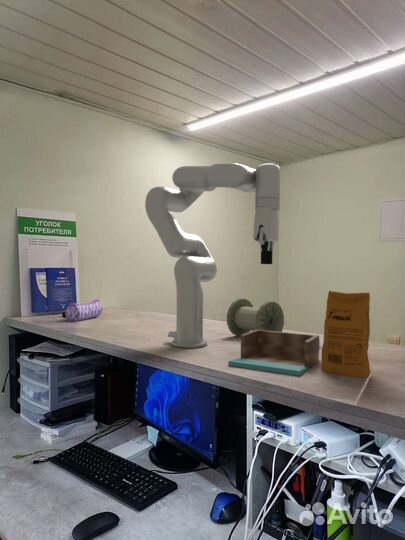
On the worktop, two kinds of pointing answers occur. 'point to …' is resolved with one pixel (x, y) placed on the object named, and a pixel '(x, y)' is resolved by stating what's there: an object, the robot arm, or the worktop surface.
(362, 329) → the coffee package
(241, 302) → the spool
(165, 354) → the worktop surface
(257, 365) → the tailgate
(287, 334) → the crate
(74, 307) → the pencil case
